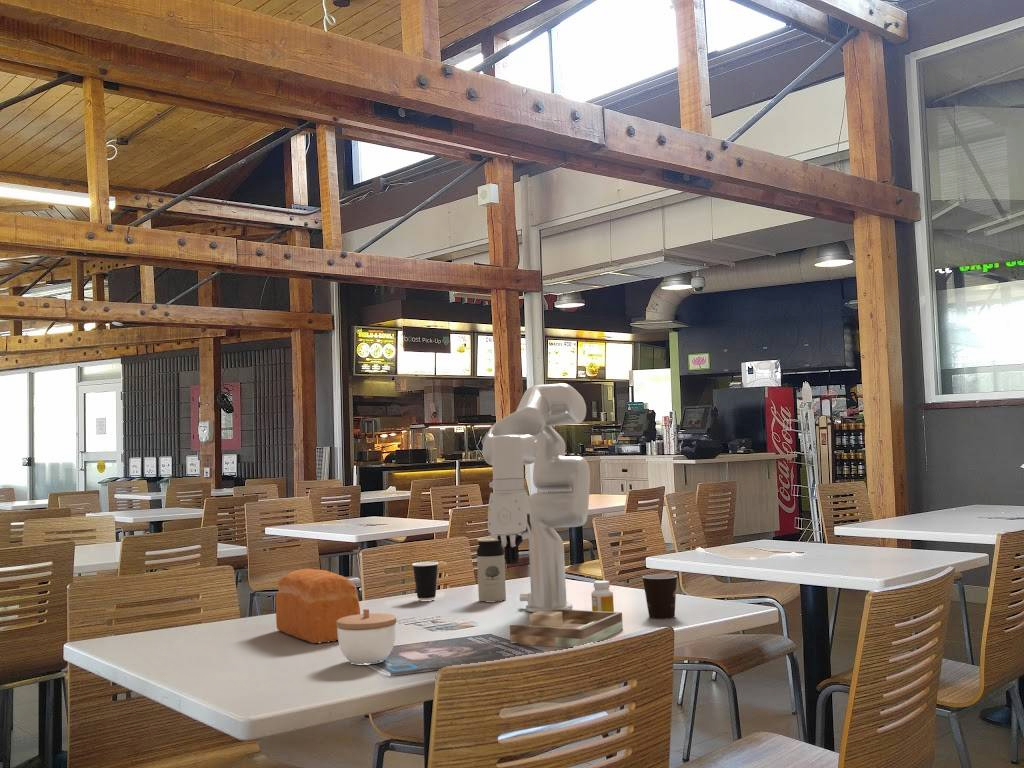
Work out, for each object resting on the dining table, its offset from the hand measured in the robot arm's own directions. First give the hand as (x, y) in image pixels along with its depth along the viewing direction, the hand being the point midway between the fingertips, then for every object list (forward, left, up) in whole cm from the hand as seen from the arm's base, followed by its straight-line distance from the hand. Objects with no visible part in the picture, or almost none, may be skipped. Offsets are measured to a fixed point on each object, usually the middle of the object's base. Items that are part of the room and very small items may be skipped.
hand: (512, 563), depth 223 cm
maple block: (+8, 0, -15) cm, 17 cm away
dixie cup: (-51, +36, -17) cm, 65 cm away
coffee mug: (+26, +31, -17) cm, 44 cm away
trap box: (+14, 0, -17) cm, 22 cm away
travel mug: (-31, +41, -17) cm, 54 cm away
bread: (-48, -15, -17) cm, 53 cm away
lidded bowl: (-15, -37, -17) cm, 43 cm away
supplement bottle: (+14, +20, -17) cm, 30 cm away
